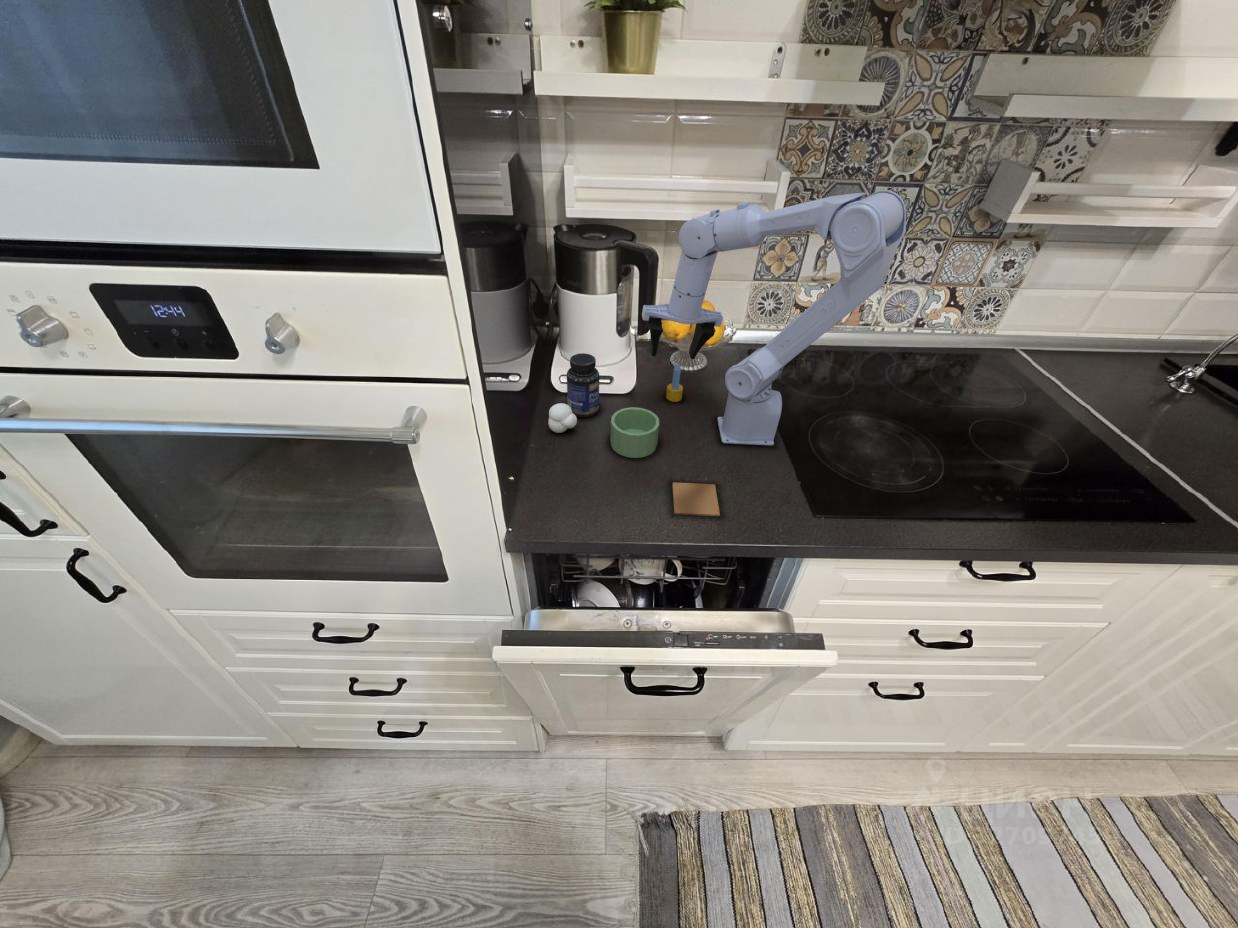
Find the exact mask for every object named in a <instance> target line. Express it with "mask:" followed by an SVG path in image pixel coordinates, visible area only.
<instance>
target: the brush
mask: <svg viewBox="0 0 1238 928" xmlns="http://www.w3.org/2000/svg"><path fill="white" fill-rule="evenodd" d="M681 372H682V367H681V364H674V365H673V371H672V380H671V381H672V382H670V383H668V384H667V386H666V394H665V398H666V399H667V401H669V402H673V403H676V402H680V401H682V398H683V392H684V387H683V385H682V384H680V380H681Z"/></svg>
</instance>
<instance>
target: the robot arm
mask: <svg viewBox="0 0 1238 928" xmlns="http://www.w3.org/2000/svg"><path fill="white" fill-rule="evenodd" d="M867 194H868V193H867V192H854V193H847V194H846V193H845V194H839V195H831V196H826V197H822V198H818V199H815V200H810V201H806V202H802V203H797V204H794V205H789V206H785V207H781V208H778V209H773V210H769V211H766V209H763V207H761V206H760V205H758V204H755V203H754V204H750V202H749V200H748V201H743V202H739V203H737V204H736V208H732V209H727V210H722V211H720V209H719V208H716V209H713V210H710V212H709V213H706V214H703V215H701V216H700V215H699V216H697V217H692V218H691V219H689V220H687V221H685V222H684V223H683V224H682V225H681V227H680V229H679V231H678V243H679V247H680V249H681V252H680V257H679V261H678V266H677V269H676V273H675V278H674V282H673V286H672V291H671V294H670V299H669V303H661V304H653V305H652V304H650V305H649V304H648V305H647V304H644V305H642V310H641V318H642V320H643V321H646V322H647V324H648V328H649V335H650V351H649V352H650V355H651V357H656V355H657V353H658V349H659V348H658V347H659V342H660V339H661V337H662V335H663V332H664V330H663V322H662V321H668V322H674V323H678V324H682V325H694V324H695V327H694V332H693V337H692V340H691V343H690V346H689V349H688V355H689V357H690V360H694V359H696V357H697V355H698V353H699V352H700V350H701V349H702V348H703V347H704V345H705V344H706V343H707V342H708V341H709V340H710V339H712V338H713V337H714V336H715V335H716V329H715V327H717V328H718V327H719V328H721V327H722V323H723V321H724V316H723V314H722V312H721V311H715V310H710V309H707V308H703V303H704V300H705V296H706V294H707V290H708V286H709V282H710V279H711V276H712V272H713V270H714V266H715V262H716V259H717V256H718V253H723V252H728V251H736V250H742V249H748V248H754V247H759V246H760V245H761V244H762V243H763V242H764V240H765V239H766V238H767V236H773V235H780V234H788V233H794V232H795V233H796V232H803V231H804V232H805V231H810V230H813V231H814V232H816V233H817V234H818V235H819V236H820V237H821V239H822V240H824V241H827V240H829V239H830V238H831V241H832V245H833V248H834V251H835V254H836V256H837V260H838V262H839V270H840V275H839V276H840V278H839V280H837V282H835V283H834V284H833V285H832V286H831V287H830V288H829V289H827V290H826V291H825V292H824V293H823V294H822V295H821V296H820V297H819V298H818V299H816V300H815V301H814V302H813V303H811V304H810V306H809V307H807V308H806V309H805V310H803V312H802V313H800V315H798V316H797V317H796V318H795V319H794V320H792V321H791V322H790V323H789V324H788V325H787V326H785V328H783V329H782V330H781V331H780V332H779V333H778V334H777V335H776V336H774V337H773V338H772V339H771V340H770V341H769V342H767V344H765V345H764V346H763V347H759V348H757V349H755V350H754V351H752V353H751V354H749V355H748V356H747V357H745V358H743V359H742V360H741V361H739V362H738V363H737V364H734V365H732V366H731V367H729V368H728V369H727V370H726V373H725V375H724V385H725V388H726V390H727V391H728V393H727V398H726V402H725V403H726V404H725V407H724V413H723V416H718V417H717V419H716V420H717V425H718V430H719V436H720V440H721V443H723V444H727V445H728V444H730V445H732V444H733V445H749V446H751V445H752V446H769V447H770V446H774V445H775V441H774V440H775V436H776V432H777V429H778V426H779V422H780V419H781V415H782V409H783V399H782V394H781V392H780V391H778V390H775V389H772V385H773V382H774V381H776V380H777V379H778V378H779V377H780V376H781V374H782V372H783V369H784V368H785V366H786V365H787V364H789V363H790V362H791V361H792V360H793V359H794V358H796V357H797V356H798V355H800V354H801V353H802V352H803V351H804V350H806V349H807V348H808V347H809V346H811V345H812V344H814V342H816V341H817V340H818V339H819V338H821V337H822V336H823V335H824V334H826V333H827V332H828V331H829V330H830V329H832V328H833V327H834V326H835V325H837V324H838V323H839V322H841V321H842V320H843V319H845V318H846V317H847V316H848V315H849V314H851V313H852V312H853V311H855V309H856V308H859V306H860V305H862V304H863V303H864V302H865V301H866V300H868V299H870V298H871V296H873V295H874V294H875V293H877V292H878V291H879V290H880V289H881V288H882V286H884V283H885V281H886V278H887V276H888V274H889V271H890V268H891V266H892V264H893V260H894V257H895V256H896V253H897V250H898V248H899V246H900V244H901V242H902V240H903V238H904V237H905V235H906V233H907V232H906V231H907V207H906V204H905V201H904V200H903V198H902V197H901V196H900V195H899V194H898V193H896V192H894V191H892V190H885V189H884V190H877V191H875V192H873V193H871V194H869V195H868V196H866V197H864V196H865V195H867ZM863 197H864V198H863Z"/></svg>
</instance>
